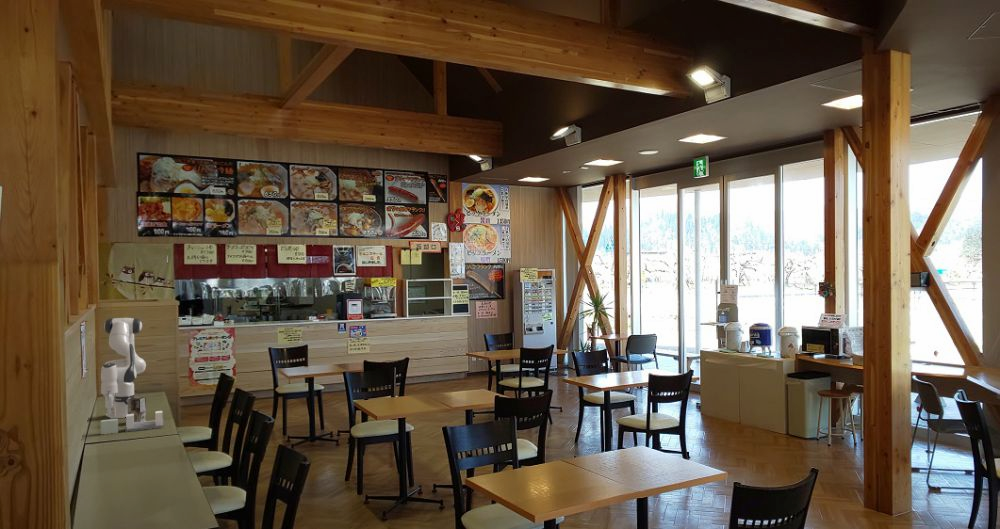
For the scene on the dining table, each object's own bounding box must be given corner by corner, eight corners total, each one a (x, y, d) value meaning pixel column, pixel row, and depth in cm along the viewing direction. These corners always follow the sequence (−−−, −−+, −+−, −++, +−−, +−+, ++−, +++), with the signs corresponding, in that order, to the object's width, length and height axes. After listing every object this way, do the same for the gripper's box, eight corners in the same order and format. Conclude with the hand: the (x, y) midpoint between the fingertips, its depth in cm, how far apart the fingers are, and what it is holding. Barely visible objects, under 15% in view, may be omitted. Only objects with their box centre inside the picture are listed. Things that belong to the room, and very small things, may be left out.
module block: (101, 433, 411) (101, 420, 411) (118, 431, 415) (118, 418, 415) (101, 434, 407) (100, 421, 407) (118, 433, 411) (117, 420, 411)
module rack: (126, 429, 421) (125, 413, 421) (163, 424, 431) (163, 410, 431) (125, 432, 413) (125, 416, 413) (163, 427, 423) (163, 412, 423)
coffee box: (146, 421, 441) (146, 397, 441) (140, 423, 435) (140, 399, 435) (133, 421, 442) (133, 397, 442) (127, 423, 436) (127, 398, 436)
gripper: (114, 392, 404) (114, 415, 403) (115, 387, 422) (116, 409, 421) (102, 393, 401) (102, 416, 400) (104, 388, 419) (104, 410, 418)
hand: (109, 412), depth 411 cm, fingers open, 8 cm apart
